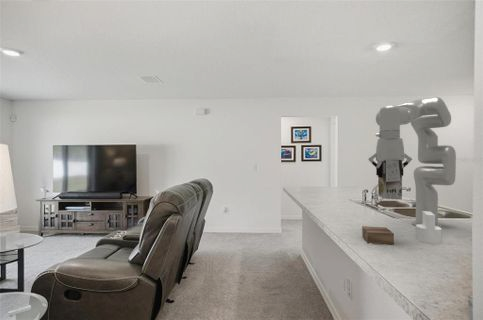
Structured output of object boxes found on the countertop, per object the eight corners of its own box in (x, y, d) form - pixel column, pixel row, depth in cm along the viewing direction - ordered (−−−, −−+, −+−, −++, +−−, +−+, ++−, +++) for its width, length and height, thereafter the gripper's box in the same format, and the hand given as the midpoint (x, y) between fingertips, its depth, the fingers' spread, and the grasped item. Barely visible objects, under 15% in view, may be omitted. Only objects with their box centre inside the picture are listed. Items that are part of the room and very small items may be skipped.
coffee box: (402, 199, 104) (402, 160, 104) (385, 199, 105) (385, 160, 105) (393, 196, 113) (393, 159, 113) (377, 196, 114) (377, 159, 114)
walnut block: (362, 237, 117) (362, 226, 117) (386, 238, 115) (386, 227, 115) (367, 244, 108) (367, 232, 108) (394, 245, 105) (394, 233, 105)
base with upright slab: (414, 236, 117) (414, 210, 117) (438, 239, 113) (438, 212, 113) (417, 242, 109) (417, 214, 109) (444, 245, 105) (444, 216, 105)
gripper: (367, 135, 108) (367, 177, 108) (416, 134, 102) (416, 178, 102) (366, 137, 115) (366, 176, 116) (411, 135, 109) (411, 177, 109)
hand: (389, 177), depth 109 cm, fingers closed on coffee box, 7 cm apart
